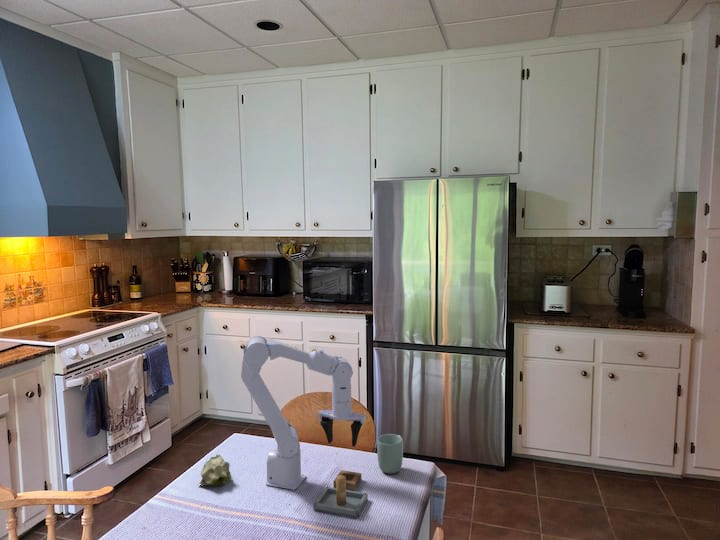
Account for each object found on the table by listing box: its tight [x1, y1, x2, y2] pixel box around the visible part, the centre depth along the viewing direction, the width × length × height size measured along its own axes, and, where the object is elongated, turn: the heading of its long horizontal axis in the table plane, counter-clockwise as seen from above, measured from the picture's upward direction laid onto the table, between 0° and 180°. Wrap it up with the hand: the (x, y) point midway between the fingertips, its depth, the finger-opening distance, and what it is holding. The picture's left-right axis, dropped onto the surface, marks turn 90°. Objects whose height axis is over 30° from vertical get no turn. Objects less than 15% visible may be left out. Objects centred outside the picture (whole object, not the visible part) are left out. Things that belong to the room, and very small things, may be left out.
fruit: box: [199, 454, 233, 487], centre depth 141 cm, size 9×9×8 cm
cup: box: [376, 433, 404, 475], centre depth 147 cm, size 8×8×10 cm
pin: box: [335, 475, 346, 506], centre depth 129 cm, size 3×3×7 cm
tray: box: [313, 486, 368, 519], centre depth 129 cm, size 12×9×2 cm
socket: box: [332, 469, 362, 491], centre depth 140 cm, size 6×6×2 cm
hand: (342, 443), depth 144 cm, fingers open, 7 cm apart
